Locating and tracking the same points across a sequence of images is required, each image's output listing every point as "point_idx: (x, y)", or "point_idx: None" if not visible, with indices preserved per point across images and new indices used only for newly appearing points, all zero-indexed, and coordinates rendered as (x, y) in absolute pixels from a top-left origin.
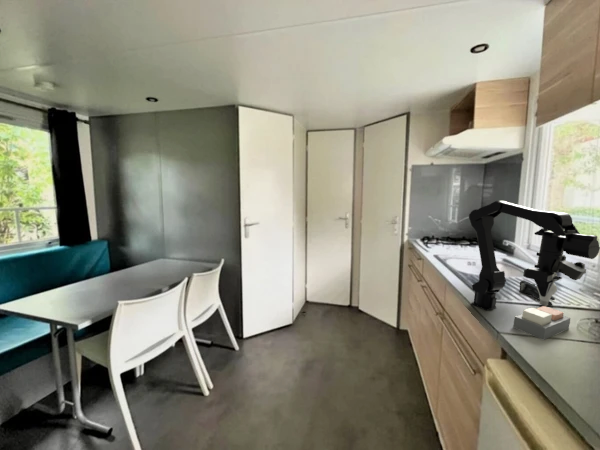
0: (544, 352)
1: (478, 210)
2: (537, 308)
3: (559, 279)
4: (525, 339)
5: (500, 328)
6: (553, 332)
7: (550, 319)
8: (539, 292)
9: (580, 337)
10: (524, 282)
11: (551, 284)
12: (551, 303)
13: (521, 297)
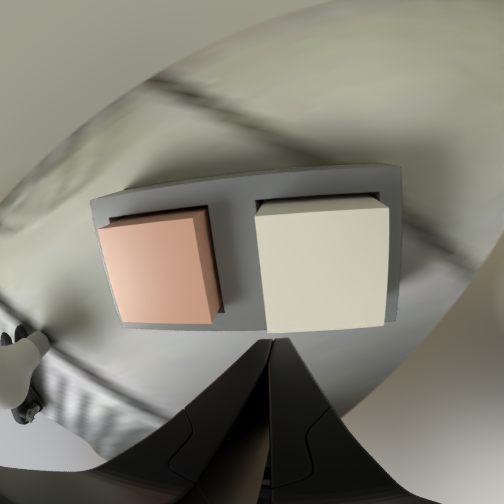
0: (478, 113)
1: None
2: (200, 321)
3: (11, 483)
4: (449, 202)
5: (440, 301)
6: (280, 169)
7: (268, 208)
8: (30, 379)
9: (157, 121)
10: (21, 418)
11: (204, 458)
12: (17, 330)
13: (65, 394)
